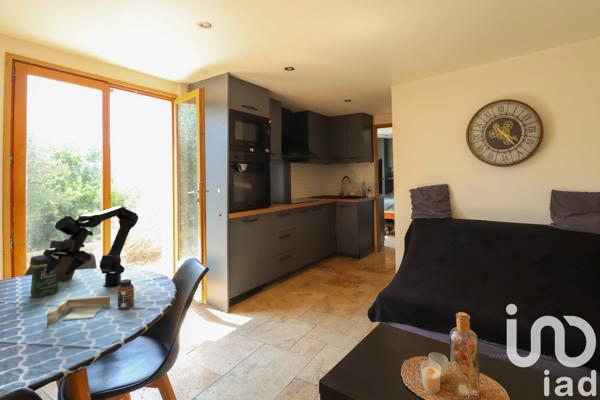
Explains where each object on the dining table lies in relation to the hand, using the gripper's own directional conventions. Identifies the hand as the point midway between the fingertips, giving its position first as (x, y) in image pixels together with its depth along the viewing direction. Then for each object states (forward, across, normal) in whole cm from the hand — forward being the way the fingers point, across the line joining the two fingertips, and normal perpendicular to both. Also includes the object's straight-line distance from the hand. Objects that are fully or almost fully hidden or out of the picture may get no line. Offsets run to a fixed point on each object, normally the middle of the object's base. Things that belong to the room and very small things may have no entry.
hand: (56, 274), depth 119 cm
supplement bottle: (+7, +26, +15) cm, 31 cm away
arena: (+12, +14, +8) cm, 20 cm away
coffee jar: (+5, -21, +18) cm, 28 cm away
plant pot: (-6, -31, +32) cm, 45 cm away
